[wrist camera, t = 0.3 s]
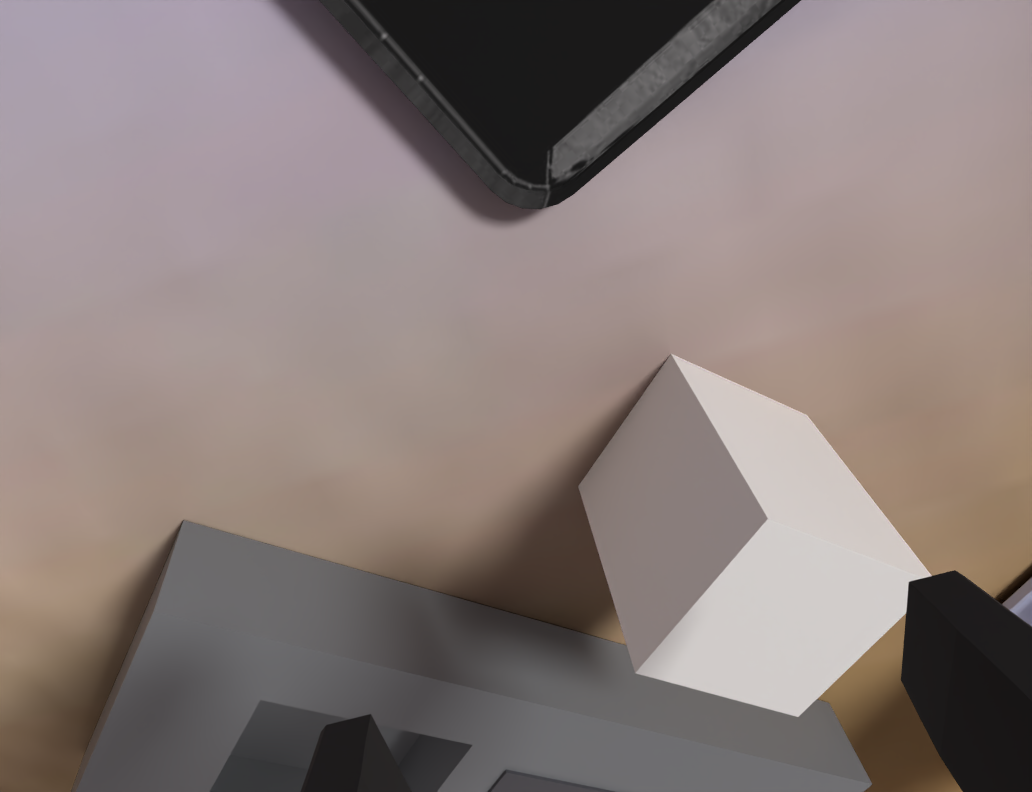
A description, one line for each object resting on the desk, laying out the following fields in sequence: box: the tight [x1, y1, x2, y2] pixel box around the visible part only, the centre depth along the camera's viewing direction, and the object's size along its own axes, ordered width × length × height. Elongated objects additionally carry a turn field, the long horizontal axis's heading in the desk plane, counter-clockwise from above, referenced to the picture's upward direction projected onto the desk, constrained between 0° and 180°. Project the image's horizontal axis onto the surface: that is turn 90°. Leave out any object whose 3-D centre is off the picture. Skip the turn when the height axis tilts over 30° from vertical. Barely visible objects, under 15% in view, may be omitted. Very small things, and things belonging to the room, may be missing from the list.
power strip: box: [71, 520, 872, 792], centre depth 25 cm, size 22×10×3 cm, turn 61°
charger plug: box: [578, 354, 931, 717], centre depth 18 cm, size 4×4×6 cm
